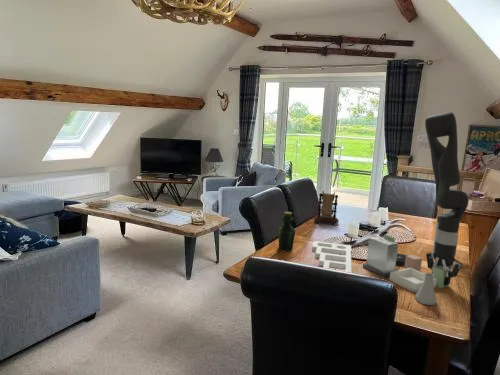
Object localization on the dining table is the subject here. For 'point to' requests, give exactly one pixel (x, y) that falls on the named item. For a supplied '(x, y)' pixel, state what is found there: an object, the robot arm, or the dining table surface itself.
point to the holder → (333, 255)
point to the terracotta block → (413, 262)
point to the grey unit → (382, 255)
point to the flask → (427, 291)
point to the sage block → (439, 276)
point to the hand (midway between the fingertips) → (440, 282)
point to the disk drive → (401, 259)
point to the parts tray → (409, 279)
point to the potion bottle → (286, 233)
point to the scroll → (327, 209)
